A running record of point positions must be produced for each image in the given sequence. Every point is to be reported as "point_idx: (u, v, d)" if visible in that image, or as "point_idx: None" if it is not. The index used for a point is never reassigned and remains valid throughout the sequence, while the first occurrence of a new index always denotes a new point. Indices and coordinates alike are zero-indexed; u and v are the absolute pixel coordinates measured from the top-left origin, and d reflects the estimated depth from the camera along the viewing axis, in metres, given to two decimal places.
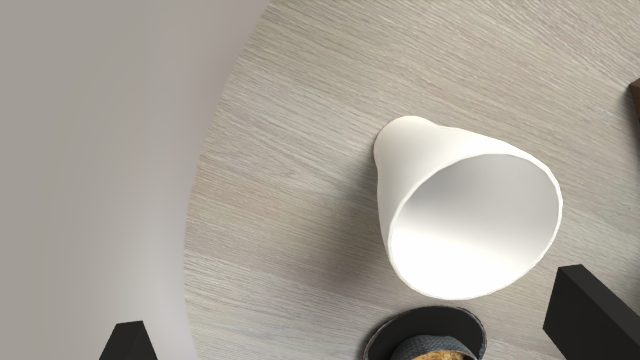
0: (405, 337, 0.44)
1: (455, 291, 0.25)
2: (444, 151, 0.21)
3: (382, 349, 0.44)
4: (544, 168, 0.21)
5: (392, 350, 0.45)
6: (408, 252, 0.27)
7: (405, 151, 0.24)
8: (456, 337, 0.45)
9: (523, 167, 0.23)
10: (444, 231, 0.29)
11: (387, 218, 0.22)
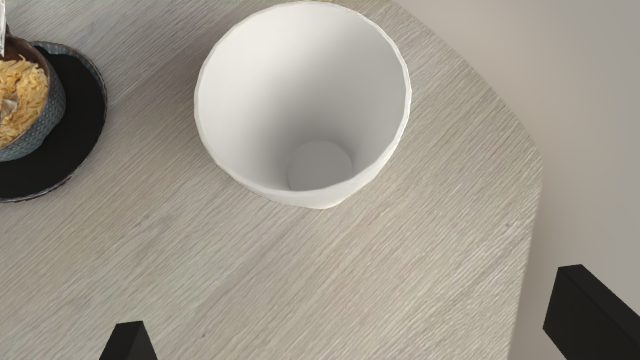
0: (65, 103, 0.33)
1: (215, 63, 0.19)
2: None
3: (65, 73, 0.34)
4: (356, 178, 0.17)
5: None
6: (264, 64, 0.23)
7: None
8: (20, 164, 0.32)
9: None
10: (247, 133, 0.24)
11: None
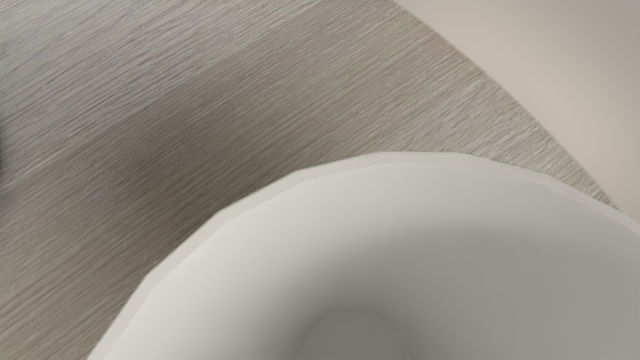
0: None
1: (143, 332, 0.06)
2: None
3: None
4: None
5: None
6: (293, 254, 0.09)
7: None
8: None
9: None
10: None
11: None
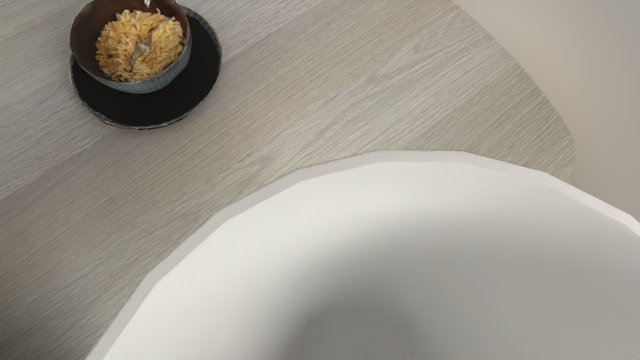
0: None
1: (143, 330, 0.06)
2: None
3: None
4: None
5: None
6: (293, 252, 0.09)
7: None
8: (144, 99, 0.38)
9: None
10: None
11: None
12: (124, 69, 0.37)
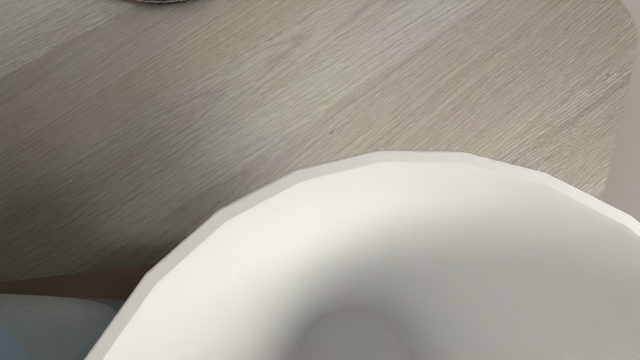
0: None
1: (143, 331, 0.06)
2: None
3: None
4: None
5: None
6: (293, 252, 0.09)
7: None
8: None
9: None
10: None
11: None
12: None
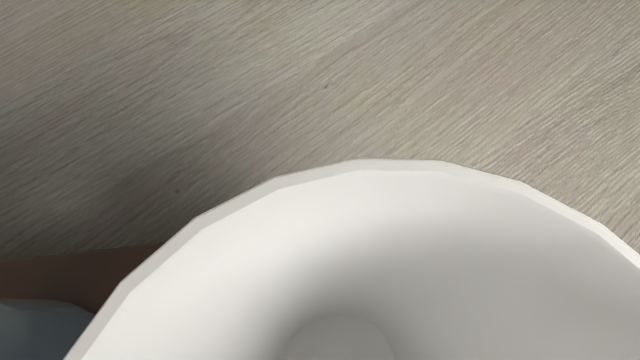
0: None
1: (117, 339, 0.06)
2: None
3: None
4: None
5: None
6: (275, 257, 0.09)
7: None
8: None
9: None
10: None
11: None
12: None
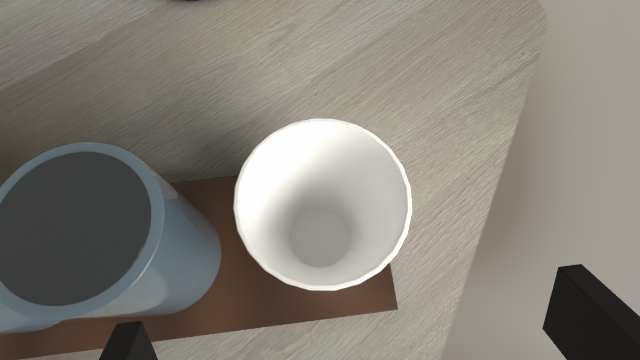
0: None
1: (254, 161, 0.23)
2: None
3: None
4: (361, 279, 0.21)
5: None
6: (290, 156, 0.27)
7: None
8: None
9: (337, 281, 0.23)
10: (267, 208, 0.28)
11: None
12: None
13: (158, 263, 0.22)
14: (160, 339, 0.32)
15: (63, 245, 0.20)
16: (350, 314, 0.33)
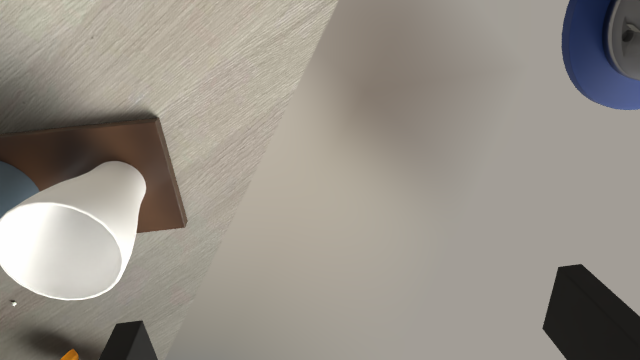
0: None
1: (1, 228, 0.32)
2: (128, 248, 0.34)
3: None
4: (97, 295, 0.35)
5: None
6: None
7: (130, 215, 0.37)
8: None
9: (95, 277, 0.37)
10: (45, 211, 0.37)
11: (91, 209, 0.32)
12: None
13: None
14: None
15: None
16: (151, 230, 0.48)
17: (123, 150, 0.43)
